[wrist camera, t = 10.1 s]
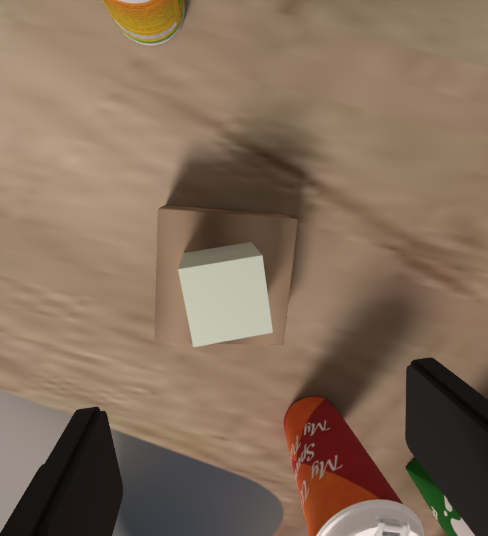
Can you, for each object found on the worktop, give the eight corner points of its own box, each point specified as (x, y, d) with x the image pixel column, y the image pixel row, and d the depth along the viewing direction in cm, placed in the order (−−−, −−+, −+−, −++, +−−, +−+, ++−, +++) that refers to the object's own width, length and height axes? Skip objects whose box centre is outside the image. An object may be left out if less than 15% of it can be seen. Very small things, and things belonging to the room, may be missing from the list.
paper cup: (285, 380, 33) (339, 512, 20) (357, 393, 35) (454, 526, 21) (263, 448, 35) (300, 614, 21) (333, 458, 36) (410, 621, 23)
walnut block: (283, 213, 30) (297, 218, 25) (271, 321, 32) (283, 345, 27) (166, 204, 29) (157, 208, 24) (162, 317, 31) (154, 341, 26)
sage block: (251, 241, 25) (262, 255, 20) (260, 305, 26) (272, 332, 22) (183, 252, 25) (177, 269, 20) (195, 317, 26) (193, 347, 21)
